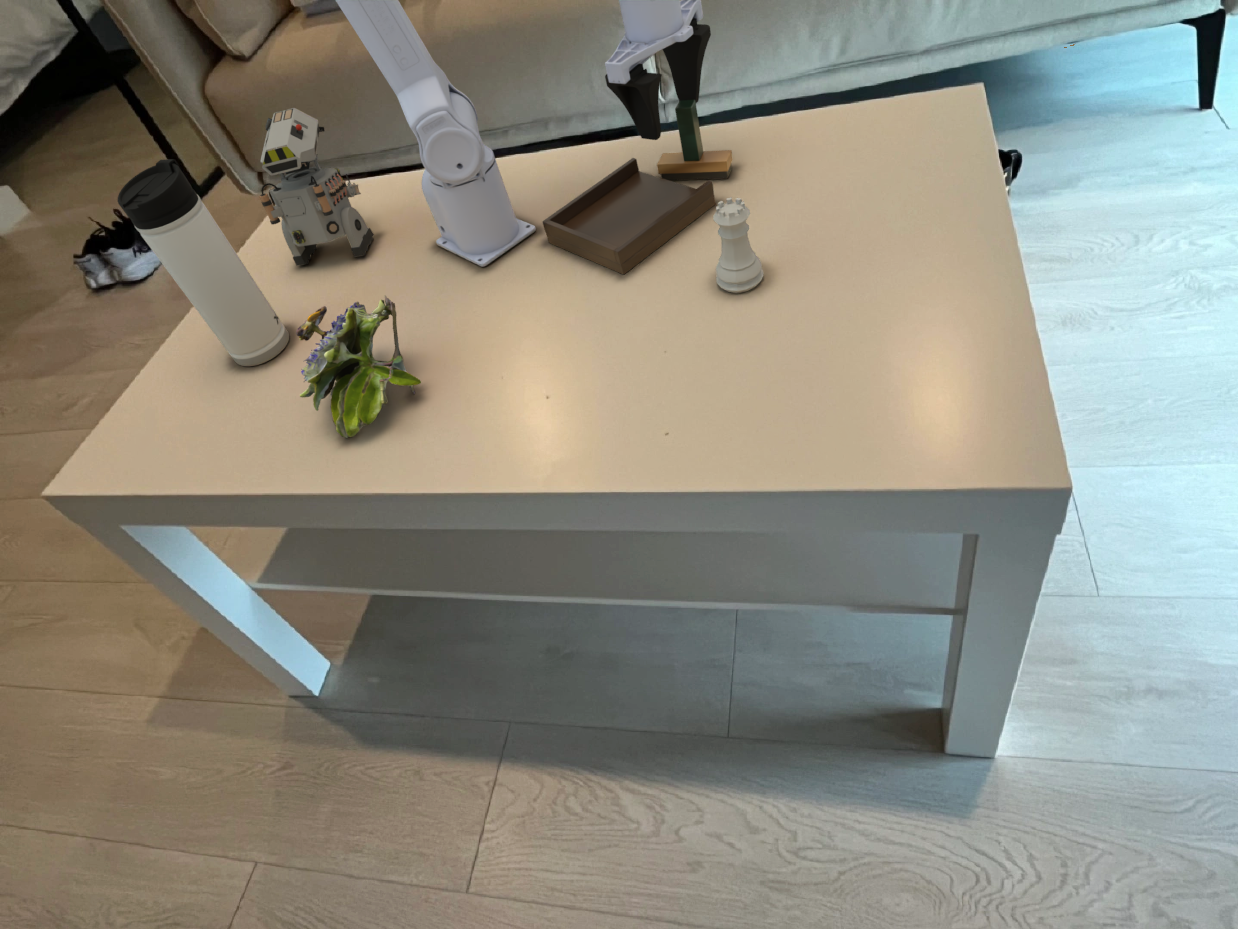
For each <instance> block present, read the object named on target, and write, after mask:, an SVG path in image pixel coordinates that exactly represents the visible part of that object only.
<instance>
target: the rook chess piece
mask: <svg viewBox="0 0 1238 929" xmlns="http://www.w3.org/2000/svg"><path fill="white" fill-rule="evenodd" d="M725 200H726V203H725V202H724V201H723V200H720V201H719V202H717V206H715V212H714V214H713V216H712V219H713V222H715V223H716V224H717V225H718V226H719V228H718V230H717V235H718V236H719V237H720V240H721V241H720V242H721V245H720V246H721V252H720V256H719V258H718V262H717V264H716V266H715V275H716V277H715V278H716V279H715V281H716V284H717V285H718V287H720V288H721V289H722V290H724V291H726V292H729V293H733V294H740V293H745V292H749V291H750V290H753V289H755V287H757V286H758V285H759V284H760V282H761V281H762V280H763V277H764V269H763V265H762V261H761V259H760V257H759V256H758V255H757V254H756V252H755V251H754V250H753V249H752V246H751V242H750V240H749V233H748V232H749V230H750V225H749V224H748V222H747V220H748V219H749V217H750V215H751V211H750V208H748V206H746V204H745V200H743V199H742V198H740V197H736V198H735V201H733V196H732V197H731V196H730V197H727V198H725ZM742 200H743V201H742Z"/></svg>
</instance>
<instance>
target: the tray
mask: <svg viewBox="0 0 1238 929" xmlns="http://www.w3.org/2000/svg"><path fill="white" fill-rule="evenodd" d="M714 191H715V190H714V184H713V180H710V179H707V180H706V181H705V182H704V183H702V184H701V185H700V186H698V187H696V188H695V187H692V186H689V185H685V184H682V183H679V182H675V181H674V180H673V181H670V180H666V179H663V178H662V177H659V176H657V175H653V174H649V173H647V172H643V171H642V170H641V171H640V168H639V164H638V160H637V158H636V157H631V158H630V159H629V160H628V161H625V163H623V164H622V165H621V166H619V167H617V168H616V169H615V170H613V171H612V172H611V173H608V174H607V175H606V176H605V177H603V178H602V179H600V180H598V182H596V183H595V184H593V185H591V187H589V188H587V189H586V190H585V191H583V192H582V193H580V194H579V195H577V196H575V197H574V198H573V199H572V200H570V201H569V202H567V203H565V205H563V206H562V207H560V208H559V209H558V210H556V211H555V212H554V213H552V214H551V215H549V216H548V217H546V218H544V219H543V220H542V221H541V222H542V225H543V229H544V232H545V236H546V238H547V241H548V244H551V245H553V246H555V247H558V248H560V249H563V250H564V251H568V252H569V253H571V254H574V255H577V256H579V257H582V258H584V259H586V260H588V261H591V262H593V263H596V264H597V265H601V266H603V267H605V268H607V269H610V270H611V271H614V272H616V273H619V274H620V275H621V274H622V275H626V273H628V272H629V271H630V270H632V269H633V268H635V267H636V266H637V265H639V263H641V262H643V261H644V260H645V259H647V257H649V256H650V255H652V254H653V253H654V252H655V251H657V250H658V249H659V248H660V247H663V245H664V244H666V243H667V242H668V241H670V240H671V239H672V238H673V237H675V236H677V235H678V234H679V233H680V232H681V231H682V230H684V229H685V228H686V227H688V226H689V225H690V224H691V223H693V222H695V220H697V219H698V218H699V217H701V216H702V215H703V214H705V213H706V212H707V211H709V210H710V209H711V208H712V207H714V206H715V205H716V198H715V192H714Z"/></svg>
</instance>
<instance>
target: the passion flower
mask: <svg viewBox="0 0 1238 929" xmlns="http://www.w3.org/2000/svg"><path fill="white" fill-rule="evenodd" d="M327 312H328V308H327V306H326V305H323V306H321V307H320V308H319V309H317V310H315V312H313V313H311V314H310V315H309V316H308V317H307V319H306V320H305V321H304V323H302V324H301V325H300V326H299V327H298V328H297V329H296V331H295V332H296V333H295V335H296V336H297V337H298V338H299V339H298V340H299V341H306V342H307V341H309V340H310V339H311V338H312V337H313V336H314V334H315V333H317V334H318V335H320V336H321V339H319V341H320V342H318V343H317V342H316V343H315V345H316V346H317V347H316V348H314V349H311V352H310V353H309V356H308V357H307V358H306V359H304V360H303V363H304V362H305V363H306V365H305V366H304V367H303V368H301V371H300V373H301V375H302V376H304V377H303V380H304V381H303V383H305V382H307V383H309V384H308V387H307V388H306V390H305V391H302V393H300V394H299V397H300V398H309V397H312V395H313V398H312V402H313V408H314V410H315V411H317V412H318V411H319V408H320V405H321V401H322V400H323V399H326V397H327V396H328V395H329V394H330V412H331V417H332V419H333V424H334V425H335V430H336V433H337V434H339V436H341V437H343V438H345V439H349V438H353V437H355V436H356V435H357V434H358V433H359V432H360V431H361V429H362V428H363V427H364V426H370V425H371V424H373V423H374V421H375V420H376V419H377V417H378V416H379V414H380V412H381V410H382V408H383V405H387V404H388V397H387V383H388V382H389V383H390V384H392V385H395V386H396V385H397V386H399V387H408V388H409V389H410V392H411V393H412V394H413V395H415V394H416V391H415V390H414V386H418V385H420V384H422V380H421V379H419V378H418V377H417V376H416V375H413V374H411V373H410V372H408V371H407V368H406V366H405V362H404V356H403V355H402V353H401V350H400V344H399V336H398V335H399V334H398V326H397V325H398V324H397V311H396V304H395V302H394V301H391V299H390V298H389V297H387V295H384V299H380V300H379V302H378V305H377V307H376V308H375V309H373V311H371V313H367V310H366V306H365V305H364V304H361V303H360V302H359V301H355V302H353V304H352V305H349V307H346V308H345V311H344V312H343V314H342V313H340V314H339V315H336V320H333V321H332V322H331V323H330V325H331V328H330V329H329V330H327V331H326V330H323V329H321V328H320V326H319V325H320V324H321V323H322V322H323V319H324V317H325V315H326V314H327ZM390 316H392V317H391V318H392V332H393V344H394V351H393V354H392V356H391V359H389V360H378V359H376V358H375V357H374V354H373V350H374V336H375V334H376V332H377V331H378V328H380V325H381V323H382V322H384V321H387V320H389V319H390Z"/></svg>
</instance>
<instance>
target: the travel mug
mask: <svg viewBox="0 0 1238 929" xmlns="http://www.w3.org/2000/svg"><path fill="white" fill-rule="evenodd" d="M117 204H118V205H119V206H120V208H121V209H122V211H123V212H124V213H125V215H126V216H127V218H129V219H130V221H131V223H132V224H133V226H134V228H135V229H136V231H137V232H139V234H140V236H141V238H142V239H143V240H144V241H145V243H146V244H147V246H148V247H149V248H150V250H151V251H152V252H153V253H154V254H155V256H156V257H157V259H158V261H160V263H161V264H162V265H163V267H164V268H165V270H166V272H168V274H169V275H170V276H171V278H172V279H173V280H174V282H175V283H176V285H177V286H178V287H179V289H180V290H181V291H182V292H183V294H184V296H186V298H187V299H188V301H189V302H190V303H191V304H192V306H193V307H194V309H195V310H196V311H197V313H198V314H199V315H200V317H201V318H202V320H204V322H205V323H206V325H207V326H208V328H209V329H210V330H211V331H212V333H213V334H214V335H215V337H216V338H217V339H218V341H219V342H220V343H221V346H223V348H224V349H225V350H226V351H227V353H228V354H229V355H230V356H229V357H231V359H232V360H233V361H234V362H235V363H236V364H237V365H239V366H241V367H253V366H259V365H262V364H265V363H267V362H268V361H271V360H273V359H274V358H275V357H277V356H278V355H279V354H281V353H282V351H283V350H284V349H285V348H286V347H287V345H288V344H289V341H290V332H289V331H288V329H287V328H286V327H285V324H284V323H283V322H282V320H281V319H280V317H279V316H278V314H277V313H276V311H275V310H274V309H273V307H272V305H271V304H270V302H269V300H268V299H267V298H266V296H265V294H264V293H263V291H262V290H261V288H260V287H259V285H258V283H257V282H256V281H255V279H254V278H253V276H252V274H251V273H250V272H249V270H248V269H247V267H246V265H245V264H244V262H243V261H242V259H241V258H240V256H239V255H238V253H237V252H236V251H235V249H234V247H233V245H231V243H230V241H229V240H228V238H227V237H226V235H225V234H224V232H223V231H222V229H221V228H220V226H219V225H218V223H217V222H216V220H215V218H214V217H213V215H212V214H211V212H210V211H209V209H208V208H207V207H206V205H205V203H204V202H203V201H202V199H201V197H200V195H199V194H198V193H197V192H196V191H195V189H194V188H193V187H192V185H191V183H190V181H189V180H188V179H187V177H186V176H185V174H184V172H183V171H182V169H181V167H180V164H179V162H178V161H177V160H176V158H168V159H167V158H166V159H159V160H158V161H157V162H156V163H155V165H153V166H151V167H148V168H146V169H144V170H142V171H141V172H139V173H137V174H136V175H134V177H132V178H131V179H129V181H128V182H126V183H125V184H124V185H123V187H122V188H121V189H120V191H119V193H118V196H117Z"/></svg>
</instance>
